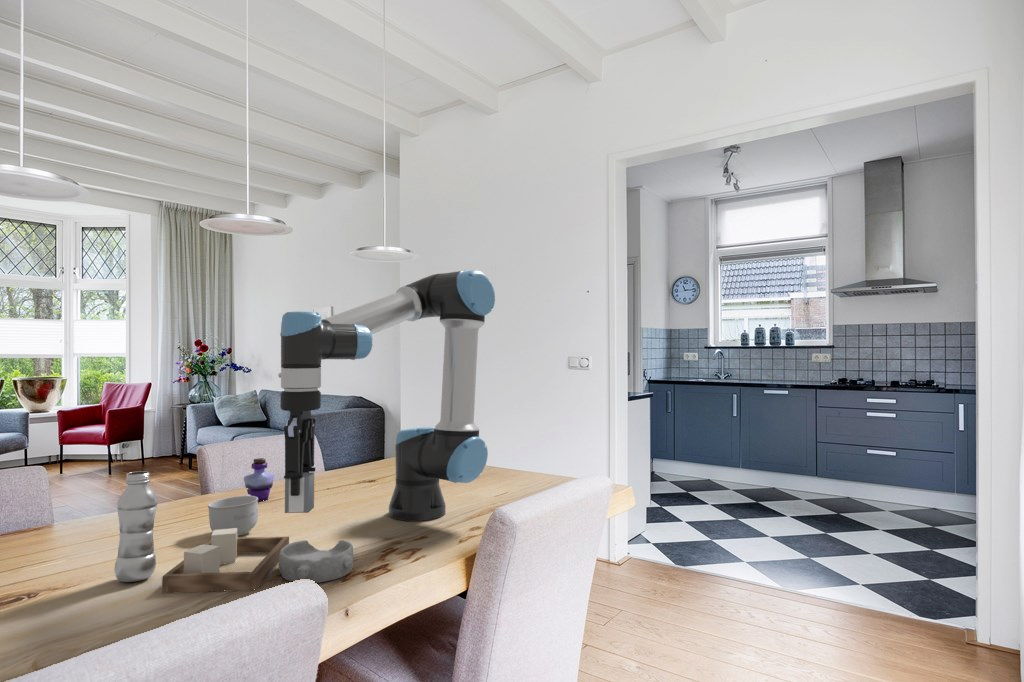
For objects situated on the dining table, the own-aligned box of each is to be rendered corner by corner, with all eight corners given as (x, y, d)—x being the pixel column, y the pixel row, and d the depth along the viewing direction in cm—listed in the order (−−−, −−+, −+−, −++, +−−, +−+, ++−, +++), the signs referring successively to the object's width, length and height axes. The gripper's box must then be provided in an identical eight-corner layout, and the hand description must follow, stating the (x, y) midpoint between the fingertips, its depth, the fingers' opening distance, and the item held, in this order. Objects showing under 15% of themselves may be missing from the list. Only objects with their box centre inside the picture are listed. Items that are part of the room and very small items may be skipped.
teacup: (238, 542, 134) (238, 506, 134) (196, 539, 136) (197, 504, 136) (274, 525, 148) (275, 493, 148) (236, 522, 150) (236, 490, 150)
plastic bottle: (126, 574, 114) (128, 470, 115) (162, 573, 115) (165, 469, 115) (106, 587, 108) (108, 476, 108) (145, 586, 108) (147, 476, 109)
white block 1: (219, 577, 113) (219, 546, 113) (201, 586, 108) (201, 553, 108) (201, 575, 114) (202, 544, 114) (183, 584, 109) (183, 551, 109)
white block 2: (236, 556, 125) (237, 527, 125) (235, 562, 121) (235, 533, 121) (213, 559, 123) (213, 529, 123) (210, 565, 119) (211, 535, 119)
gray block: (313, 507, 119) (314, 472, 119) (308, 512, 115) (308, 476, 115) (291, 507, 118) (291, 472, 118) (284, 513, 114) (285, 476, 115)
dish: (278, 566, 120) (278, 541, 120) (349, 557, 125) (349, 533, 125) (278, 592, 106) (279, 564, 106) (357, 582, 111) (358, 555, 112)
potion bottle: (280, 496, 177) (281, 456, 177) (264, 504, 168) (265, 461, 169) (253, 495, 178) (254, 455, 178) (236, 502, 170) (237, 460, 170)
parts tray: (288, 550, 129) (289, 536, 129) (255, 590, 107) (255, 573, 107) (212, 552, 127) (212, 538, 127) (162, 593, 105) (162, 576, 105)
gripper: (294, 387, 125) (293, 498, 125) (266, 392, 108) (265, 521, 108) (330, 387, 126) (329, 497, 125) (308, 392, 109) (307, 520, 108)
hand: (299, 508), depth 117 cm, fingers closed on gray block, 4 cm apart
